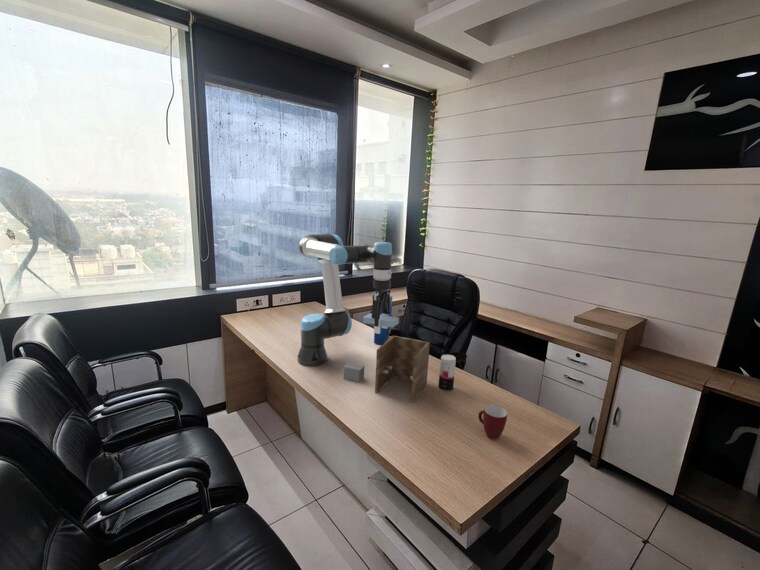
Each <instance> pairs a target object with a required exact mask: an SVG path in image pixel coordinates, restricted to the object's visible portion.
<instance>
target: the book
mask: <svg viewBox="0 0 760 570" xmlns="http://www.w3.org/2000/svg"><path fill="white" fill-rule="evenodd" d="M392 310H393V296H392V295H390V311H389V312H390V314H388V316H392V314H393V313H392V312H393V311H392ZM382 313H383V312H382V307H381V313H380V315H382ZM383 314H384V313H383ZM391 329H392V327H387V329H385V328H381V326H380V334H377V333H374V332H373V333H374V334H373V337H374V338H373V343H375V344H377V345H383V344H384V343H385V342H386V341H387V340H388V339H389V336H390V334H391V333H392V332H391Z"/></svg>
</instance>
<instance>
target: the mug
mask: <svg viewBox="0 0 760 570" xmlns="http://www.w3.org/2000/svg"><path fill="white" fill-rule="evenodd" d="M477 416H478V421H479V422H480V423H481V424H482V425H483V429H484V432H485V435H486V436H487V437H488V438H489V439H492V440H497V439H499V438H500V436H502V434H503V431H504V429H505V426H506V423H507V420H508V412H507V410H506V409H505V408H504V407H501V406H500V405H496V404H495V405H494V404H488V405H485V406H484V407H483V410H480V411H479V413H478V415H477Z"/></svg>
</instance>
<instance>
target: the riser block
mask: <svg viewBox="0 0 760 570" xmlns="http://www.w3.org/2000/svg"><path fill="white" fill-rule="evenodd" d="M364 378H365V366H364V365H361V364H356V363H353V362H347V364H345V366H343V379H344V380H347V381H352V382H355V383H360V382H361V381H362V380H364Z"/></svg>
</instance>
